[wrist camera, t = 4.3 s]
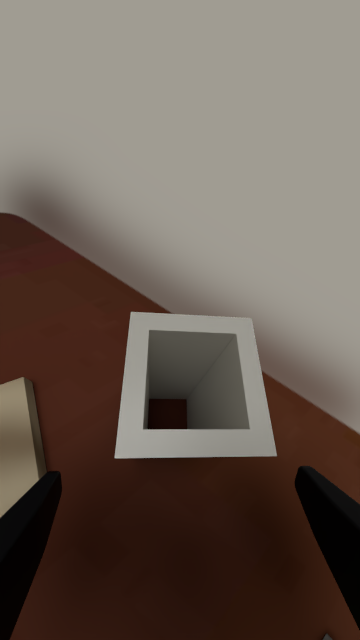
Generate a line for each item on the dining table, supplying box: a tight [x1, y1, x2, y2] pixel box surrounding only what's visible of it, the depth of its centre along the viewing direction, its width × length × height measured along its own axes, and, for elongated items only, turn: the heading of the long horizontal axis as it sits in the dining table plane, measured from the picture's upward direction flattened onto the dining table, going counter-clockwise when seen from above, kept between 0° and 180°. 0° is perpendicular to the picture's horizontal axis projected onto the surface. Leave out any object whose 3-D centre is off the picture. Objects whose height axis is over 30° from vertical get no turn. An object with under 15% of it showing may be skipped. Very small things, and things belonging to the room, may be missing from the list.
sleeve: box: [115, 312, 277, 458], centre depth 13 cm, size 5×5×13 cm
